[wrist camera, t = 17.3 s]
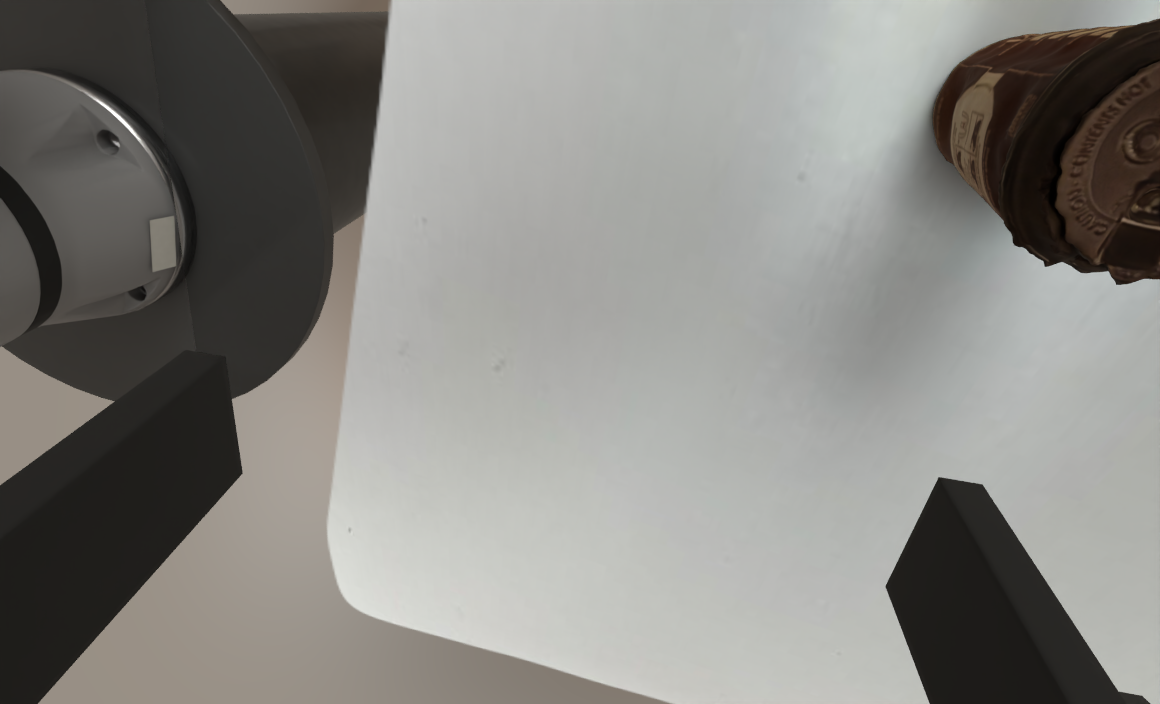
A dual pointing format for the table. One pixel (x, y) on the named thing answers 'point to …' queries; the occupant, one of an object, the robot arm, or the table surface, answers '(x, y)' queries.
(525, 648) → the table surface
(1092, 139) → the coffee cup
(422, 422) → the table surface
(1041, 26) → the table surface
